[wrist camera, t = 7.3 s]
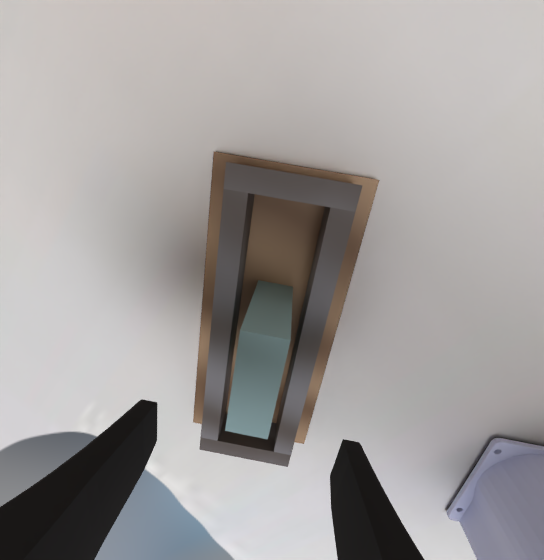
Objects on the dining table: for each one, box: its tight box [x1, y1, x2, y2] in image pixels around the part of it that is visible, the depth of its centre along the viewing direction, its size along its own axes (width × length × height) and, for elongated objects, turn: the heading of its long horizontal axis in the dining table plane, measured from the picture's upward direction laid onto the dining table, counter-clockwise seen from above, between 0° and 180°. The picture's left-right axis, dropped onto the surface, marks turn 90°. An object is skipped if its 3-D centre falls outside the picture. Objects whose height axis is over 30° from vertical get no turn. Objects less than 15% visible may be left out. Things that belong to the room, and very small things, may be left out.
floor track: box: [193, 152, 379, 467], centre depth 18 cm, size 20×9×3 cm, turn 171°
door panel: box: [225, 280, 293, 439], centre depth 16 cm, size 6×2×6 cm, turn 170°
